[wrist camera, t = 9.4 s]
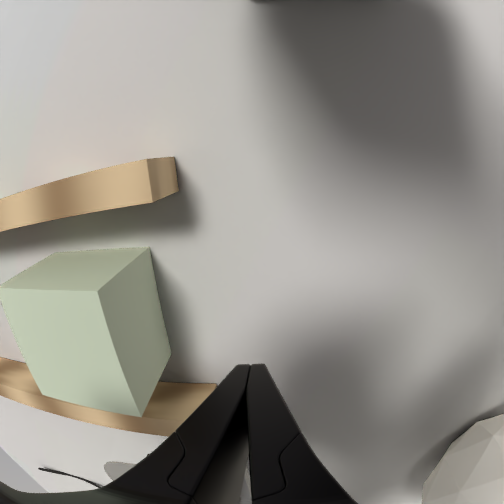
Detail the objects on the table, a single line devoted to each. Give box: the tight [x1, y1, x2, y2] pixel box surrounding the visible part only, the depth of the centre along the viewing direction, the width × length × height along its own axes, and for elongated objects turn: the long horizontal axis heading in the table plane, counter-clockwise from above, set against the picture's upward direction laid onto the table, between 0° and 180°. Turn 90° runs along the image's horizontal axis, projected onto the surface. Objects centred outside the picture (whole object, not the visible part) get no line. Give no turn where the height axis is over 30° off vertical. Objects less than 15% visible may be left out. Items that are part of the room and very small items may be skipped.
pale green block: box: [0, 247, 172, 417], centre depth 13 cm, size 6×6×5 cm
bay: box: [0, 157, 217, 436], centre depth 14 cm, size 22×14×4 cm, turn 96°
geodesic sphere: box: [421, 414, 504, 504], centre depth 11 cm, size 14×14×14 cm
